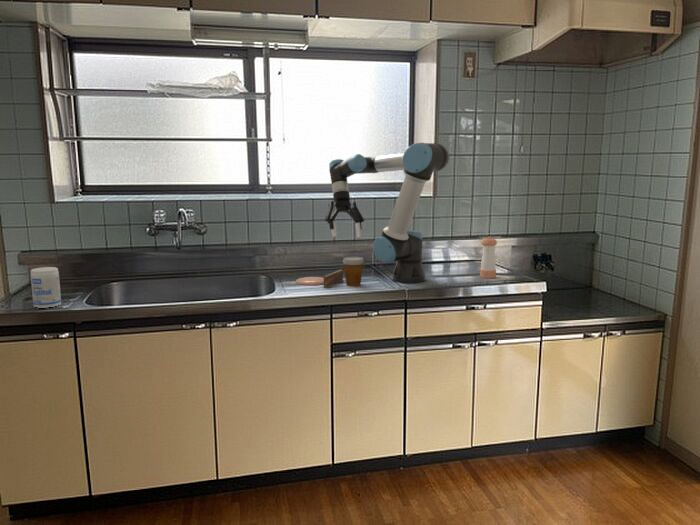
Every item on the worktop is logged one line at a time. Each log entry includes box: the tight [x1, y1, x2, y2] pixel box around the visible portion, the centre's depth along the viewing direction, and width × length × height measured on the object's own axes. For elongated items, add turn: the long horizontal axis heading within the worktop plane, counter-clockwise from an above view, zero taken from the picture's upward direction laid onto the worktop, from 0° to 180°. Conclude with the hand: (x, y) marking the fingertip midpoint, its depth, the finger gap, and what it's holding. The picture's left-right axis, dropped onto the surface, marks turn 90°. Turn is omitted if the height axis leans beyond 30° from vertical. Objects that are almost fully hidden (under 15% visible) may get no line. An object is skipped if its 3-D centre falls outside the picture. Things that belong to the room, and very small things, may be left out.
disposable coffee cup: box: [342, 256, 365, 287], centre depth 245 cm, size 10×10×12 cm
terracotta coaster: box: [295, 276, 324, 286], centre depth 253 cm, size 15×15×1 cm
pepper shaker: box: [479, 236, 498, 279], centre depth 259 cm, size 7×7×19 cm
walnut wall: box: [323, 269, 344, 289], centre depth 248 cm, size 2×16×5 cm, turn 155°
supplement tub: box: [30, 266, 62, 309], centre depth 213 cm, size 10×10×15 cm
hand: (347, 236), depth 252 cm, fingers open, 13 cm apart
